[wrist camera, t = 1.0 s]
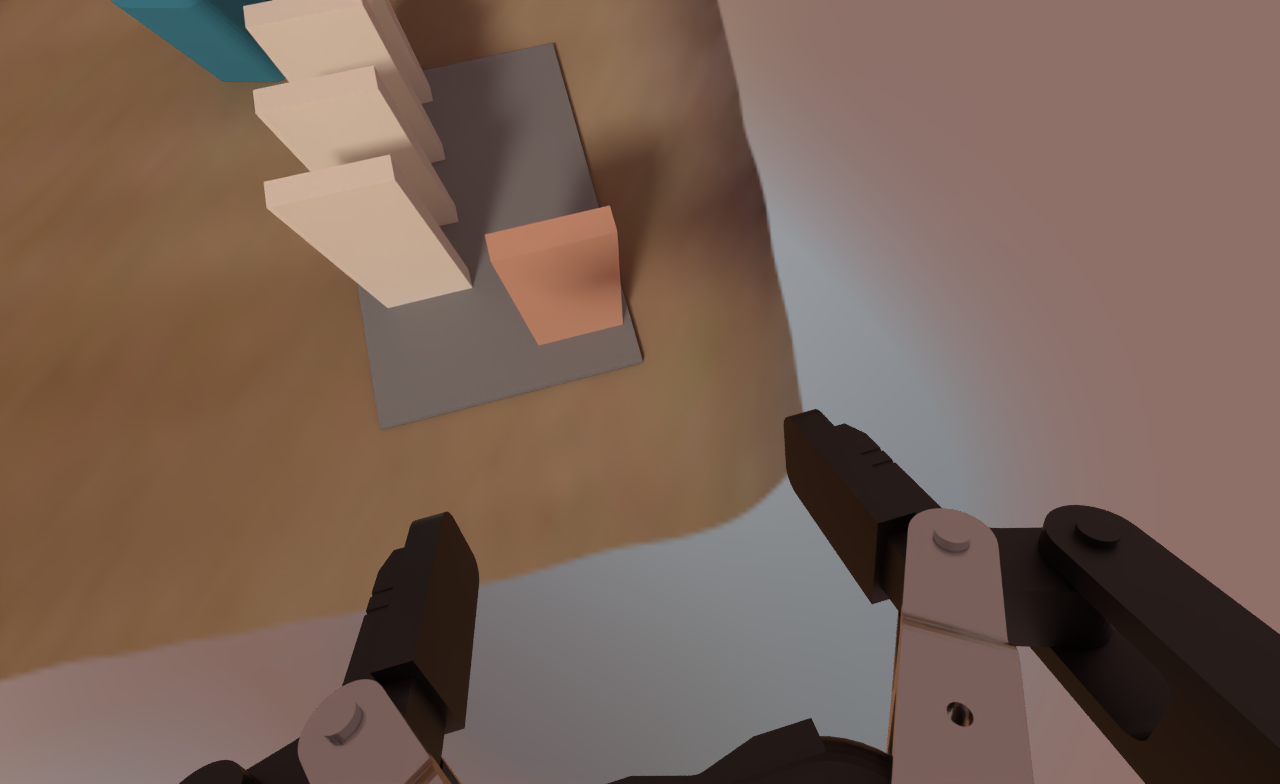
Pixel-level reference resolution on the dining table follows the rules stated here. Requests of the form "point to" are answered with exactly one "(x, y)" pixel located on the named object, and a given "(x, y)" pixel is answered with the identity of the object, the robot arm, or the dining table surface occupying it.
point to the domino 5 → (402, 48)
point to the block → (208, 35)
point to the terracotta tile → (562, 273)
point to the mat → (486, 203)
